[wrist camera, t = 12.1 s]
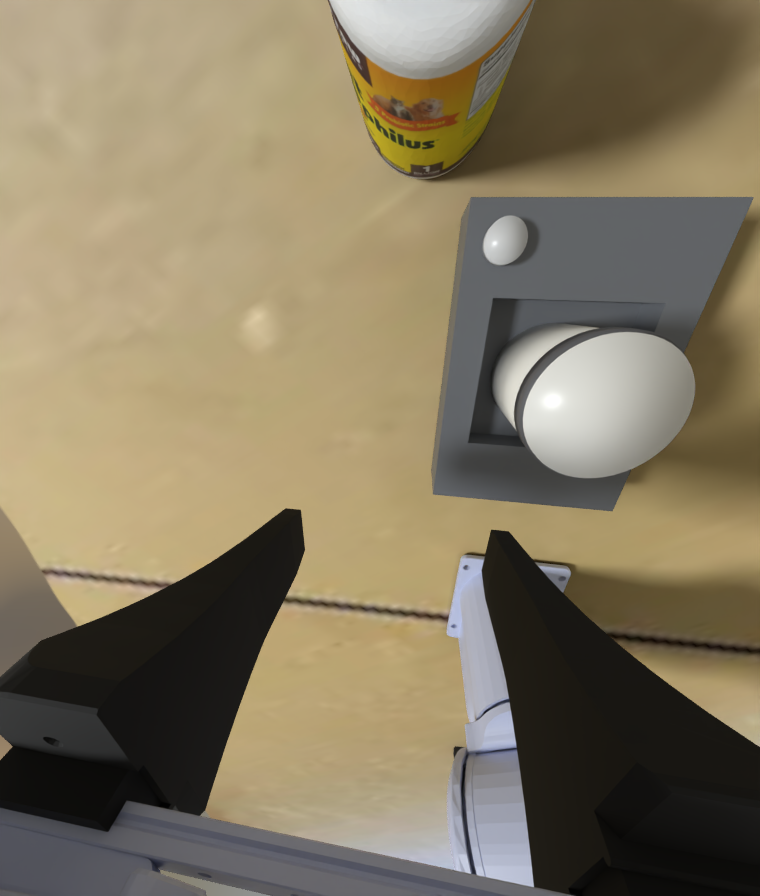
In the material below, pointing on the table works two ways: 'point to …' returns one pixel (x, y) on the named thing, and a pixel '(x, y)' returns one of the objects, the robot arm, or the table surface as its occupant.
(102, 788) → the robot arm
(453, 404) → the grey panel with knob
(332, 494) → the table surface
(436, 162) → the supplement bottle
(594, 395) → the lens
